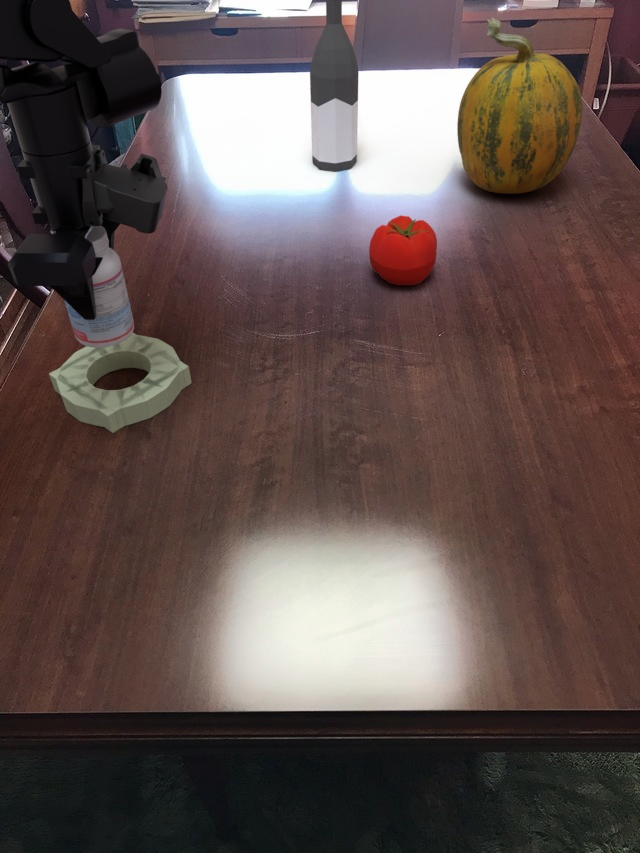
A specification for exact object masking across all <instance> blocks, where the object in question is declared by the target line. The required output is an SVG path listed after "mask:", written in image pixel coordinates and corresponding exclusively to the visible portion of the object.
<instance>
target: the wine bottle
mask: <svg viewBox="0 0 640 853" xmlns="http://www.w3.org/2000/svg"><path fill="white" fill-rule="evenodd" d="M342 13H343V0H325V17H326V18H325V25H324V28H323V30H322V32H321V34H320V37H319V38H318V41H317V43H316V46H315V48H314V52H313V55H312V58H311V65H310V70H309V84H310V85H309V86H310V88H309V89H310V90H309V92H310V120H311V121H310V122H311V123H310V125H311V128H310V129H311V159H312V164H313V165H314V167H316V168H317V169H318V170H320V171H326V172H334V173H338V172H341V171H347V170H351V169H353V167H354V166H355V164H356V163H357V159H358V128H359V127H358V125H359V123H358V119H359V116H358V115H359V66H358V61H357V57H356V56H357V55H356V53H355V51H354V50H355V49H354V47H353V44H352V42H351V40H350V38H349V36H348V33H347V31H346V29H345V27H344V25H343V14H342Z"/></svg>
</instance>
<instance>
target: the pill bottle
mask: <svg viewBox="0 0 640 853" xmlns="http://www.w3.org/2000/svg"><path fill="white" fill-rule="evenodd" d="M87 240H89V241H90V242H91V243H93V247H94V250H95V254H96V257H103V260H102V262H101V263H100V265H99V267H98V269H97V271H96V273H95V274H94V275H93V276H92V281H93V289H94V298H95V307H96V318H95V320H85V319H83V318H82V317H81V316H80V315H79V314H78V313H77V312H76V311H75V310H74V309H73V308H72V307H71V306H70V305H69V304H68V303H67V302H66V301H65V300H64V304H65V307H66V311H67V314H68V318H69V322H70V324H71V325H70V326H71V328H72V332H73V335H74V337H75V339H76V340H77V342H78V343H80V344H81V345H83V346H84V347H86V346H88V347H93V348H104V347H109V346H113V345H116V344H119V343H121V342H123V341H125V340H126V339H128V338H129V337H130V336H131V334H132V333H134V330H135V322H134V317H133V312H132V307H131V303H130V298H129V292H128V290H127V285H126V280H125V275H124V270H123V266H122V262H121V258H120V256H119V254H118V253H117V252H116V250H115V249H114V250H113V249H111V248H109V240H108V237H107V233H106V230H105V228H104V227H102V226H94V227H93V228H92V230H91V232H90V233H89V235H88V237H87Z"/></svg>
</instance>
